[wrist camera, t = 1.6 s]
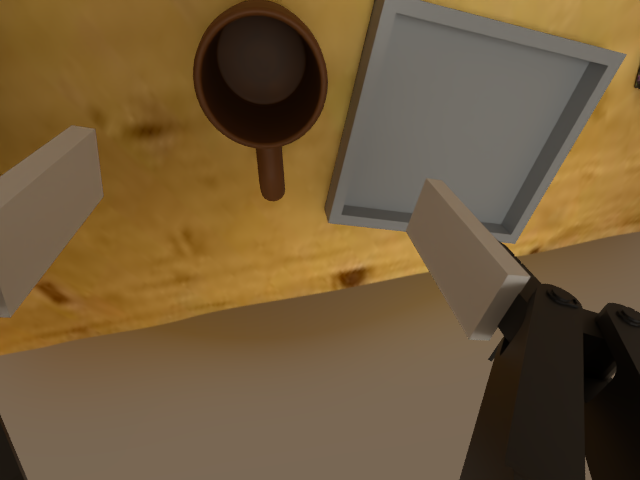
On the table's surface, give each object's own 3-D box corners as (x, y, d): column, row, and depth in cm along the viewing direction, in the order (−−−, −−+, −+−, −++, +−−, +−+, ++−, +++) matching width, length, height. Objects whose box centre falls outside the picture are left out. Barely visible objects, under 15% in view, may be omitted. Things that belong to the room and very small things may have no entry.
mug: (314, 157, 33) (330, 210, 25) (228, 163, 32) (217, 219, 25) (310, -3, 26) (330, 2, 19) (200, -1, 26) (174, 5, 18)
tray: (324, 209, 36) (328, 222, 34) (376, -9, 27) (386, -9, 24) (501, 230, 40) (514, 243, 38) (601, 49, 31) (626, 54, 29)
